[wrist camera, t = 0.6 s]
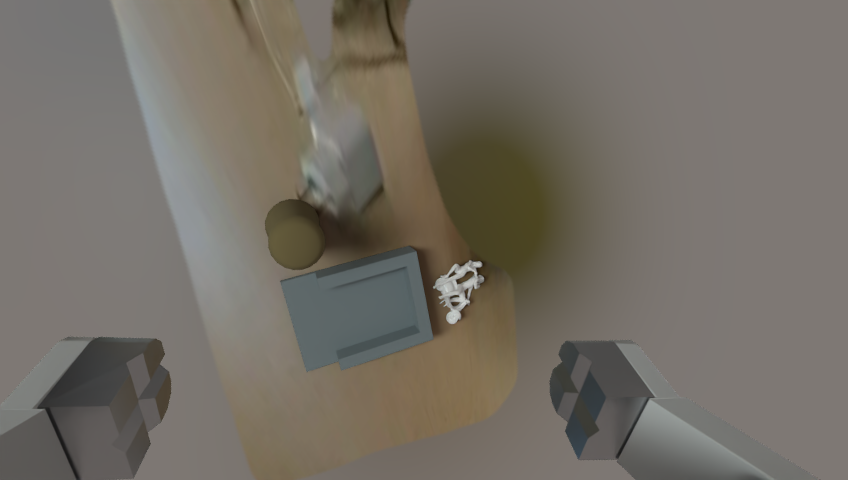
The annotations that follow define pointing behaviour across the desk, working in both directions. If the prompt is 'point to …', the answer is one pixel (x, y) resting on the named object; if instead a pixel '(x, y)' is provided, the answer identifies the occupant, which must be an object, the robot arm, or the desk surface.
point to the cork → (294, 234)
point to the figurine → (458, 288)
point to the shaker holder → (359, 309)
